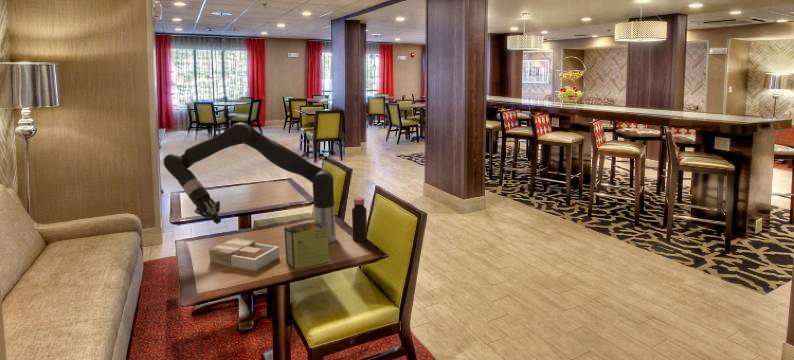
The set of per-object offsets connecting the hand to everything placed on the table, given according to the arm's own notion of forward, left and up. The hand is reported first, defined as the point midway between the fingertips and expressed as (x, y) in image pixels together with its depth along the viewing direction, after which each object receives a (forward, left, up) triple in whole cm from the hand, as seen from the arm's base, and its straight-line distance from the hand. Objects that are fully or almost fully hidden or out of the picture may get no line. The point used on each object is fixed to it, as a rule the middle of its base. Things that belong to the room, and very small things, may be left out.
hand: (219, 222), depth 216 cm
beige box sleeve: (+1, +7, -15) cm, 17 cm away
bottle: (-41, +46, -15) cm, 64 cm away
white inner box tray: (+1, +19, -15) cm, 24 cm away
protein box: (-8, +38, -15) cm, 42 cm away
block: (+2, +13, -12) cm, 18 cm away
